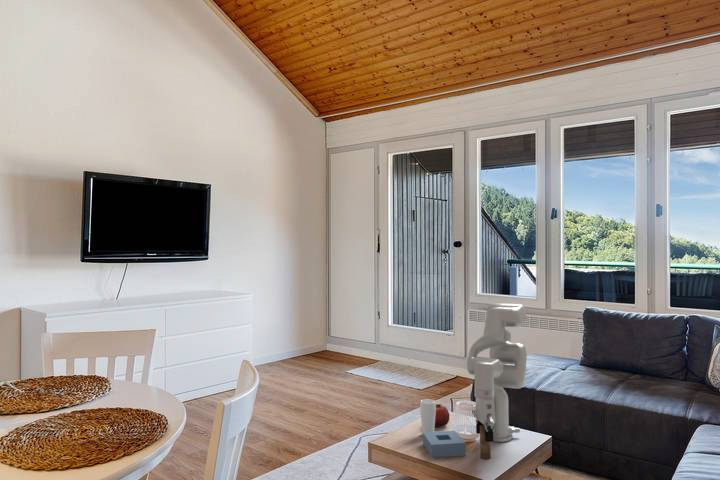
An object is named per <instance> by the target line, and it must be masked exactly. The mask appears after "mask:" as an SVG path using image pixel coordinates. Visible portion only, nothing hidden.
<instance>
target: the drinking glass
mask: <svg viewBox="0 0 720 480" xmlns="http://www.w3.org/2000/svg"><path fill="white" fill-rule="evenodd" d="M436 404H437V401H435V400H434V399H431V398H430V399H429V398H426V399H421V400H420V404H419V407H420V408H419V409H420V419H421V422H420V423H421V431H422V432H421V433H422V435H423V432H435V427H436V426H435V415H436Z"/></svg>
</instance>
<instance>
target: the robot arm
mask: <svg viewBox="0 0 720 480" xmlns="http://www.w3.org/2000/svg"><path fill="white" fill-rule="evenodd" d="M526 317H527V310H526V307H525V306H524V305H523V304H521V303H501V302H498V303H491V304H488V306H487V307H486V318H485V323H484V328H483V335H481V337H479V338H477V340H476V341H475V342H474V343H473V344H472V346H470V349H469V352H468V357H467V362H466V369H467V373H469V374H470V375H472V376H474V398H475V407H474V408H475V411H474V412H475V418H476V419H475V423H476V424H475V432H476V434H479V435H480V426H481V425H485V429H486V431H485V441H486V442H490V443H491V442H495V443H507V442H510V441H512V440H513V437H514V436H513V433H515V434H519V433H520V432H521V431H520V427H515V426H509V425H510V424H509V423H510V422H509V421H510V420H509V396H508V393H507V392H506V390H505V389H504V388H509V389H522V388H523V387H524V386H525V382H526V371H527V370H526V369H527V358H528V357H527V356H528V354H527V352H528V351H527V349H526V347H525V345H524V344H523V343H519V342H511V340H512V339H511V338H512V334H511V331H510V330H509V328H518V327H520V326H522V325H523V323H524V321H525V320H526ZM488 349H489V357H483V356H482V357H481V356H478V355H479V354H481V353H482V352H483V351H485V350H488ZM487 425H488V427H487Z"/></svg>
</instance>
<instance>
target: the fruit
mask: <svg viewBox="0 0 720 480" xmlns="http://www.w3.org/2000/svg"><path fill="white" fill-rule="evenodd" d="M449 421H450V413H449V411H448V408H447V407H446V406H443V405H442V404H441V403H439V404H437V403H436V415H435V427H445V426H447V424H448V423H450V422H449Z"/></svg>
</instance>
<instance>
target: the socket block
mask: <svg viewBox="0 0 720 480" xmlns="http://www.w3.org/2000/svg"><path fill="white" fill-rule="evenodd" d="M422 445H423V447H424V448H425V450H426V451H427V453H428V455H429V456H430V457H431V458H443V457H462V456H463V457H464V456H466V454H467V451H466V449H467V446H466V445H467V444H466V442H465V440H464V439H463V438H462V437H461V436H460V435H459V433H458V432H457V431H456V430H445V431H443V430H442V431H439V430H438V431H434V432H423V434H422Z"/></svg>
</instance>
